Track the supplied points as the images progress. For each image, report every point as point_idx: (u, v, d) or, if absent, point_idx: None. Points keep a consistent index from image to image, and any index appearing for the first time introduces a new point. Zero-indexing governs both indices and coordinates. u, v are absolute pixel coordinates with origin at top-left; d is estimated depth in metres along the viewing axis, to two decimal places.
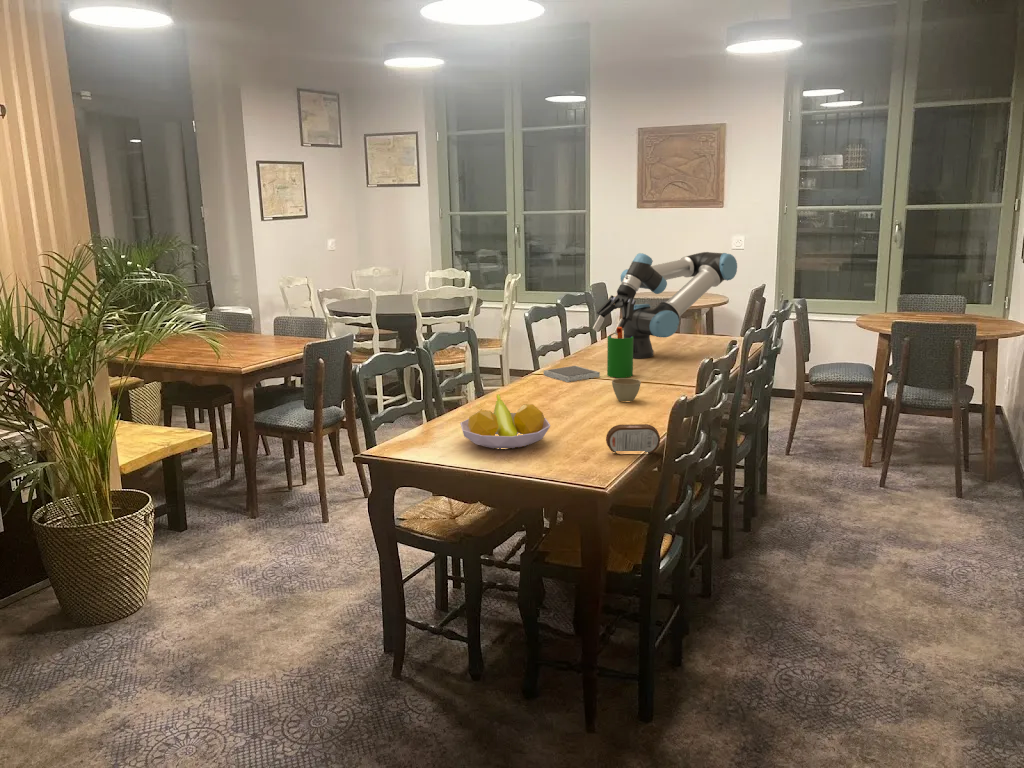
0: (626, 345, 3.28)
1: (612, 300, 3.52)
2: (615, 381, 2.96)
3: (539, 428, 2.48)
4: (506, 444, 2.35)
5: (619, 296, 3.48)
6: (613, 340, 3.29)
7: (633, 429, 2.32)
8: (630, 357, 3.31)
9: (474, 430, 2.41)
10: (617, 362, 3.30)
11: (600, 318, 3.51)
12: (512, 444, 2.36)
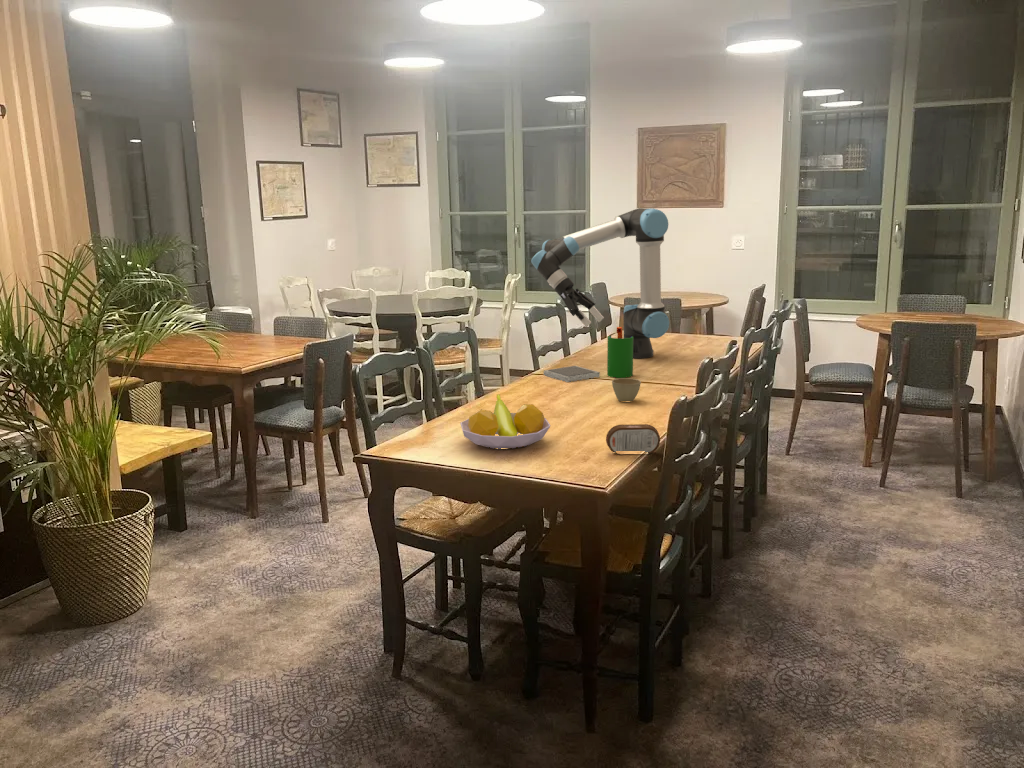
0: (626, 345, 3.28)
1: None
2: (615, 381, 2.96)
3: (539, 428, 2.48)
4: (506, 444, 2.35)
5: None
6: (613, 340, 3.29)
7: (633, 429, 2.32)
8: (630, 357, 3.31)
9: (474, 430, 2.41)
10: (617, 362, 3.30)
11: (591, 311, 3.41)
12: (512, 444, 2.36)
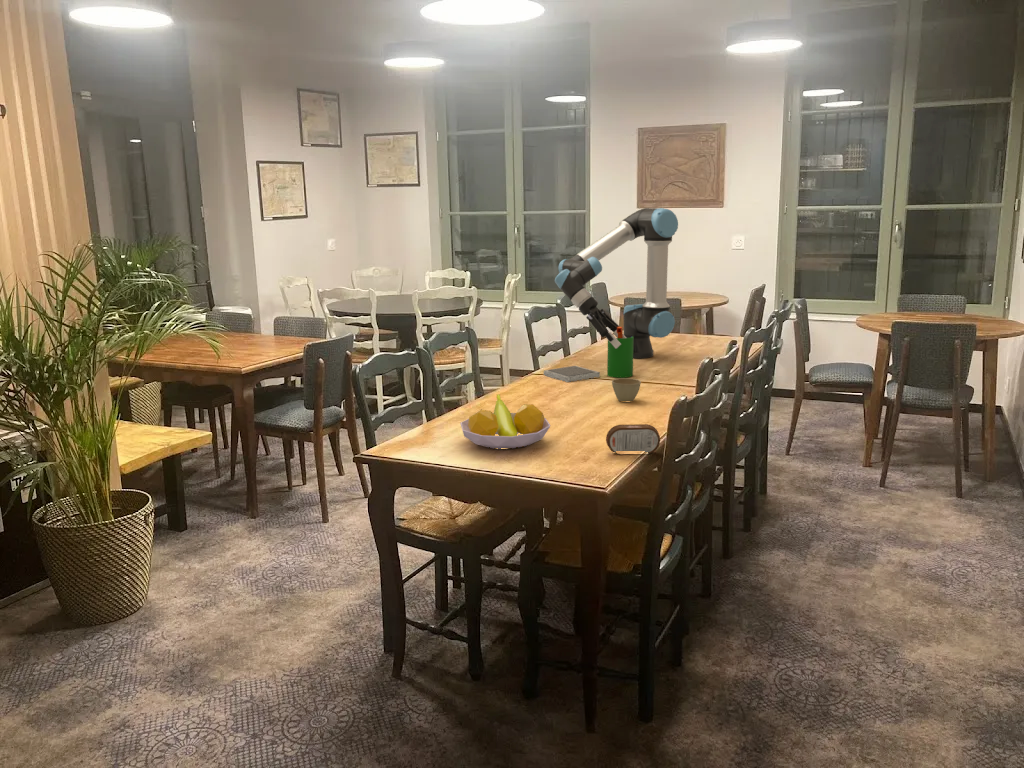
0: (626, 345, 3.28)
1: None
2: (615, 381, 2.96)
3: (539, 428, 2.48)
4: (506, 444, 2.35)
5: None
6: None
7: (633, 429, 2.32)
8: (630, 357, 3.31)
9: (474, 430, 2.41)
10: (617, 362, 3.30)
11: (615, 334, 3.37)
12: (512, 444, 2.36)
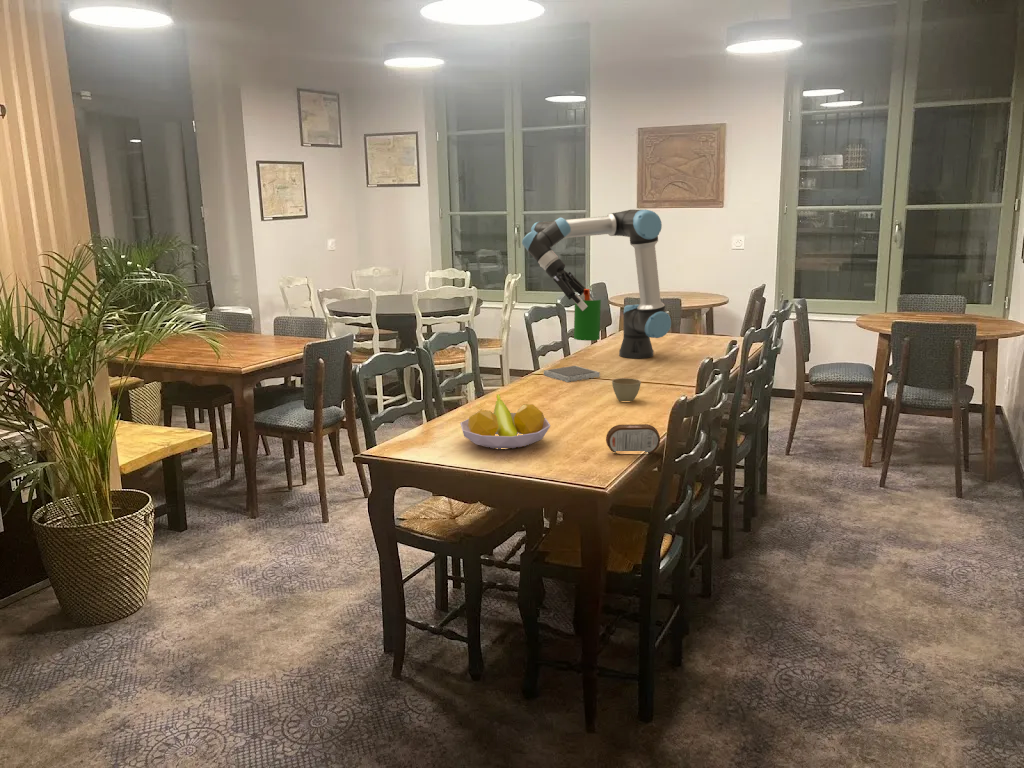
0: (593, 307, 3.25)
1: None
2: (615, 381, 2.96)
3: (539, 428, 2.48)
4: (506, 444, 2.35)
5: None
6: None
7: (633, 429, 2.32)
8: (597, 320, 3.27)
9: (474, 430, 2.41)
10: (584, 324, 3.26)
11: (583, 297, 3.33)
12: (512, 444, 2.36)
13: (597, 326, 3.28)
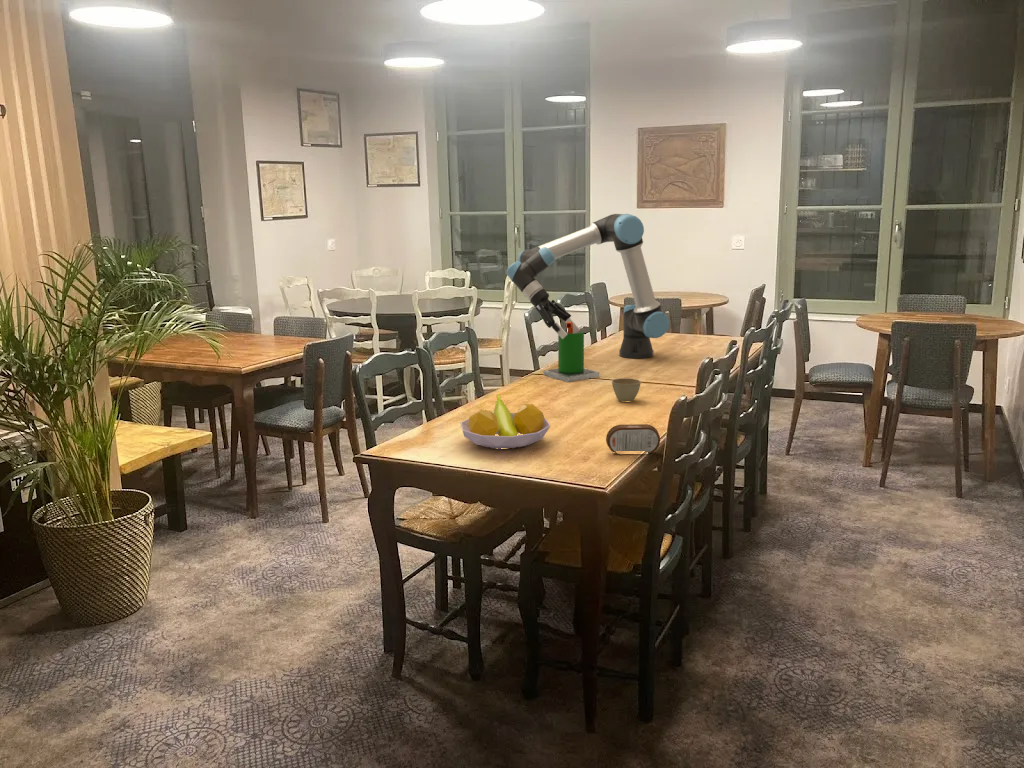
0: (576, 340, 3.28)
1: None
2: (615, 381, 2.96)
3: (539, 428, 2.48)
4: (506, 444, 2.35)
5: None
6: None
7: (633, 429, 2.32)
8: (580, 352, 3.30)
9: (474, 430, 2.41)
10: (567, 357, 3.30)
11: None
12: (512, 444, 2.36)
13: (581, 358, 3.31)
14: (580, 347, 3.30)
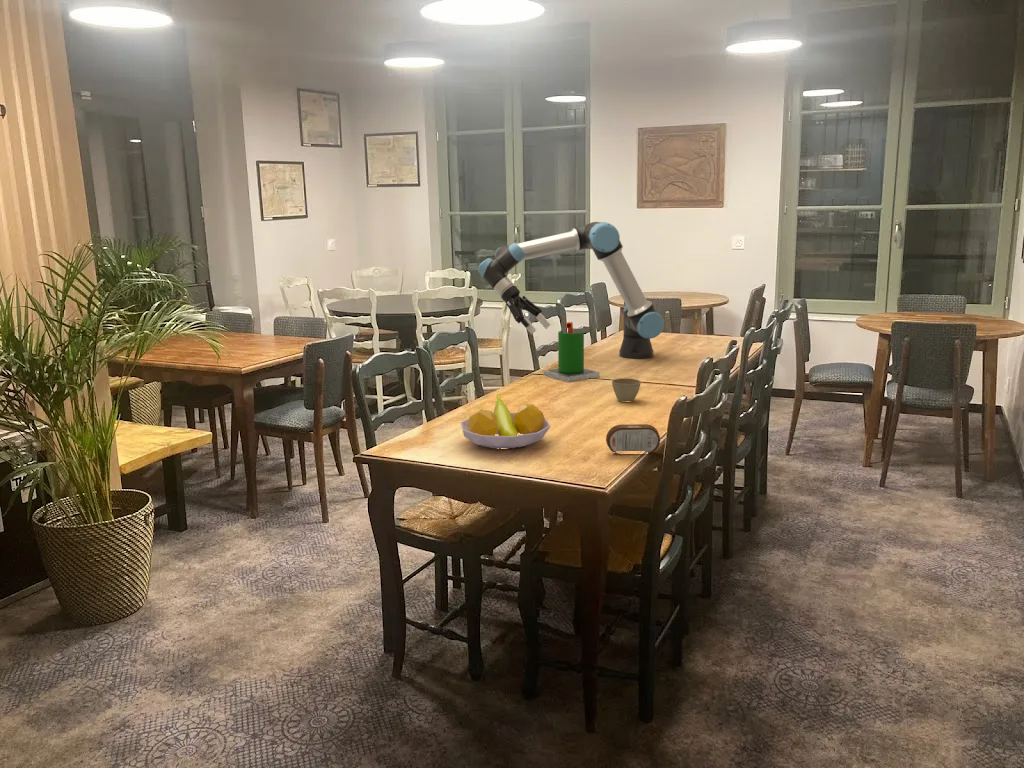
0: (576, 340, 3.28)
1: None
2: (615, 381, 2.96)
3: (539, 428, 2.48)
4: (506, 444, 2.35)
5: None
6: (563, 335, 3.29)
7: (633, 429, 2.32)
8: (580, 352, 3.30)
9: (474, 430, 2.41)
10: (567, 357, 3.30)
11: (538, 318, 3.44)
12: (512, 444, 2.36)
13: (581, 358, 3.31)
14: (580, 347, 3.30)
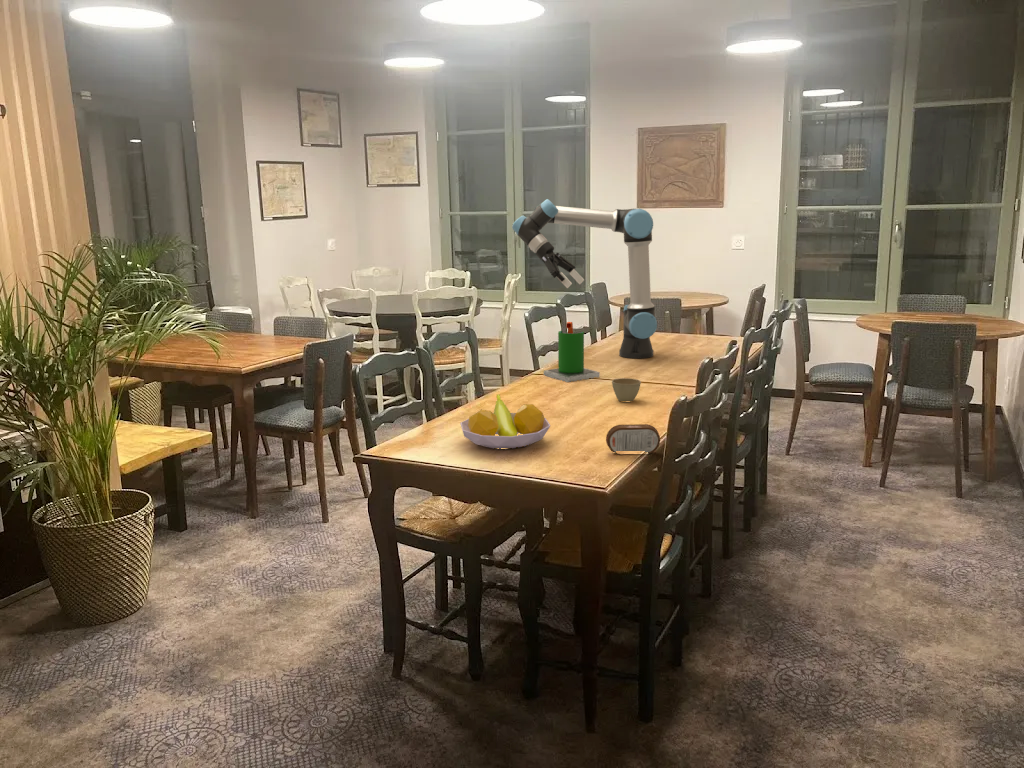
0: (576, 340, 3.28)
1: None
2: (615, 381, 2.96)
3: (539, 428, 2.48)
4: (506, 444, 2.35)
5: None
6: (563, 335, 3.29)
7: (633, 429, 2.32)
8: (580, 352, 3.30)
9: (474, 430, 2.41)
10: (567, 357, 3.30)
11: (572, 274, 3.52)
12: (512, 444, 2.36)
13: (581, 358, 3.31)
14: (580, 347, 3.30)
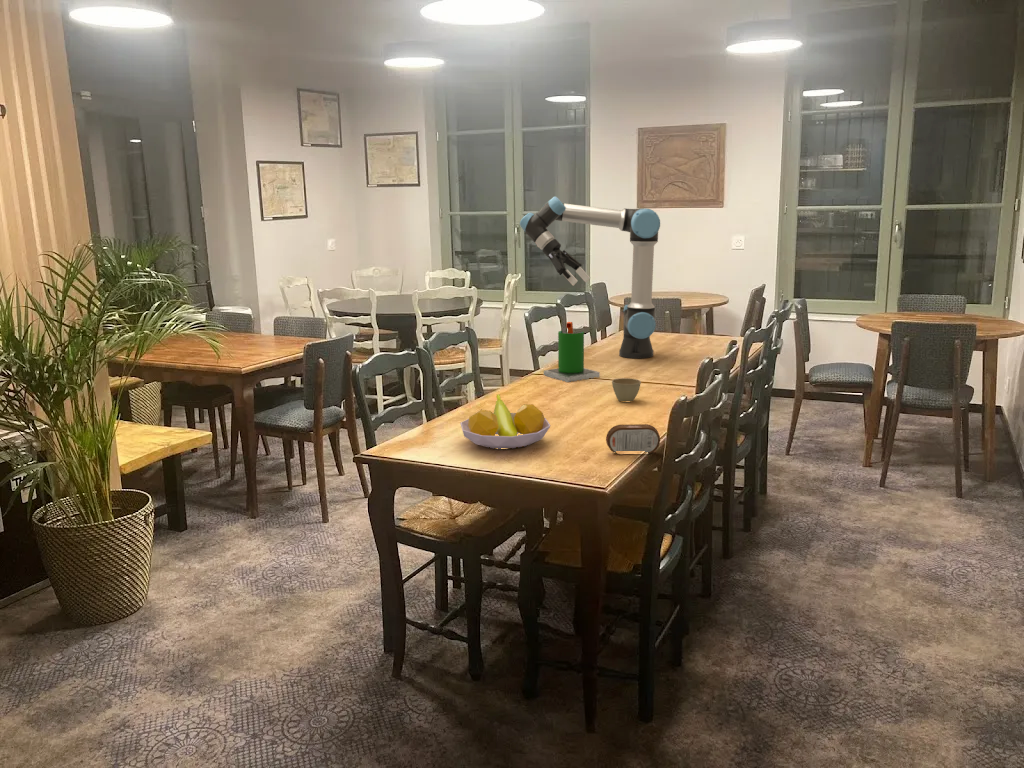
0: (576, 340, 3.28)
1: None
2: (615, 381, 2.96)
3: (539, 428, 2.48)
4: (506, 444, 2.35)
5: None
6: (563, 335, 3.29)
7: (633, 429, 2.32)
8: (580, 352, 3.30)
9: (474, 430, 2.41)
10: (567, 357, 3.30)
11: (578, 272, 3.53)
12: (512, 444, 2.36)
13: (581, 358, 3.31)
14: (580, 347, 3.30)
